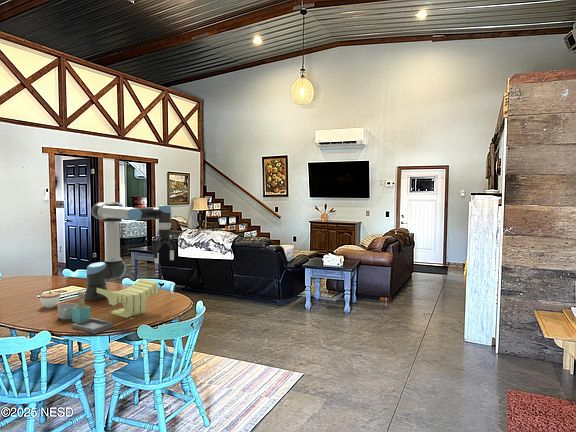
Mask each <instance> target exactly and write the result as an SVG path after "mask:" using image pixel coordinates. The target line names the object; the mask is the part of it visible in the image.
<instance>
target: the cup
mask: <svg viewBox="0 0 576 432" xmlns="http://www.w3.org/2000/svg"><path fill="white" fill-rule="evenodd" d="M90 318H91V306H87V305H84V309H78V307H75V308H72V319H71V322H73V323H78V322H81V321H84V320H87V319H90Z"/></svg>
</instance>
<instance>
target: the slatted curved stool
mask: <svg viewBox="0 0 576 432" xmlns="http://www.w3.org/2000/svg"><path fill="white" fill-rule="evenodd" d="M97 293H100V294H102V295H104V296H106V297H107V298H106V299H107V300H108V303H109V305H112V306H115V305H116V306H117V304H122V305H123V307H122V308H118V309H114V310H112V311H111V312H110V313H111V314H112V315H114V316H115V315H116V316H119V317H123V318H131V317H134V316H138V315H142V314H145V311H146V304H147V299H148V298H149V297H151V295H158V294H159V285H158V283H157V282H156V281H155V280H149V279H145V278H140V279H139V280H138V281H135V283H134V284H131V285H130V286H128V287H127V288H124V289H120V290H114V291H113V290H112V291H111V290H108V289H107V290H104V289H100V288H97Z"/></svg>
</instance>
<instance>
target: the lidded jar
mask: <svg viewBox="0 0 576 432" xmlns="http://www.w3.org/2000/svg"><path fill="white" fill-rule="evenodd" d="M60 298H61V293H60V292H58V291H49V292H44V293H41V294H40V295H39V300H40V301H39V302H40V304H41V305H42V306H43V307H44V308H46V309H50V308H55V307H57V306H58V305H59V304H60Z"/></svg>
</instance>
